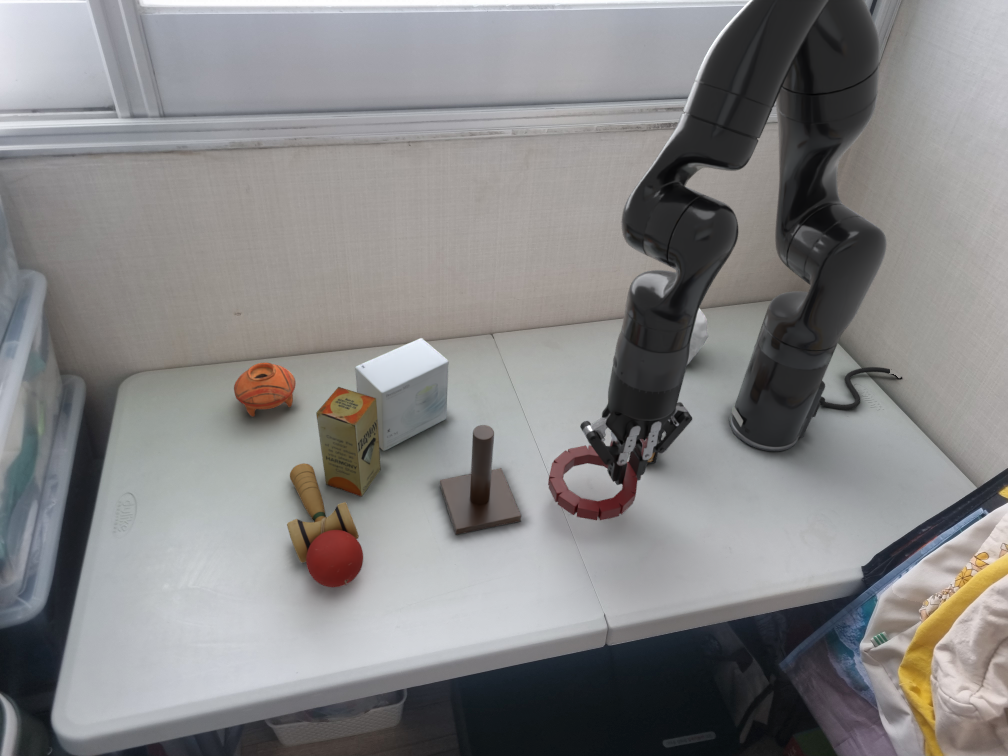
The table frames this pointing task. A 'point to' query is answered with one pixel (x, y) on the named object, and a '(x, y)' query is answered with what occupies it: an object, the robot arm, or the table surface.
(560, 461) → the ring
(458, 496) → the brown peg stand
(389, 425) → the cosmetics box
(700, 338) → the white lumpy piece
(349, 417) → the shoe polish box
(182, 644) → the table surface
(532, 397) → the table surface
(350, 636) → the table surface
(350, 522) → the kendama
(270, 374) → the pot
